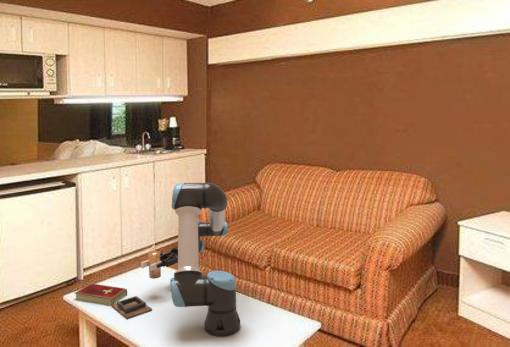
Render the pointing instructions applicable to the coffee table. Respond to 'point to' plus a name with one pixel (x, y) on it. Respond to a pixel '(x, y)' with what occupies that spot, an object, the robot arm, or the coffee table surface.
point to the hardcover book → (101, 294)
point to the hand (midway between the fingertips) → (146, 266)
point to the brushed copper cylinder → (153, 258)
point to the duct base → (131, 307)
